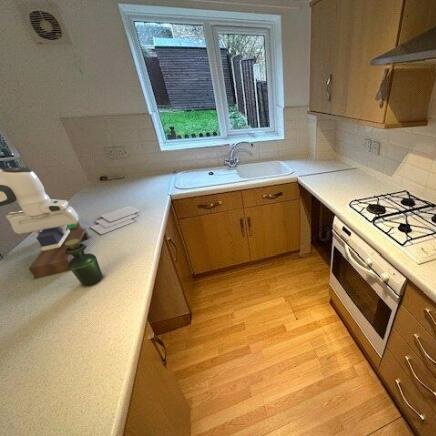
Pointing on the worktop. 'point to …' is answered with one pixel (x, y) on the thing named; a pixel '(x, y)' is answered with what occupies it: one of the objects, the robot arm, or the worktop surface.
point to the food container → (74, 226)
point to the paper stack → (115, 219)
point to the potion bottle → (83, 264)
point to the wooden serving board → (56, 257)
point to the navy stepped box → (51, 238)
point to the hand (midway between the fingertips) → (55, 236)
